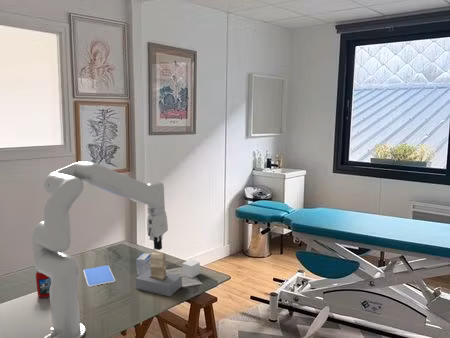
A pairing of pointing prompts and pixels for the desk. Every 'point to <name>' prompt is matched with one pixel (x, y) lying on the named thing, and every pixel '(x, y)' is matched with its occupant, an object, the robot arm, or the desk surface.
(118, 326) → the desk surface
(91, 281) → the tablet computer
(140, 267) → the medicine box
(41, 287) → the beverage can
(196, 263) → the white cube
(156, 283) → the grey slotted block
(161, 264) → the wooden block
